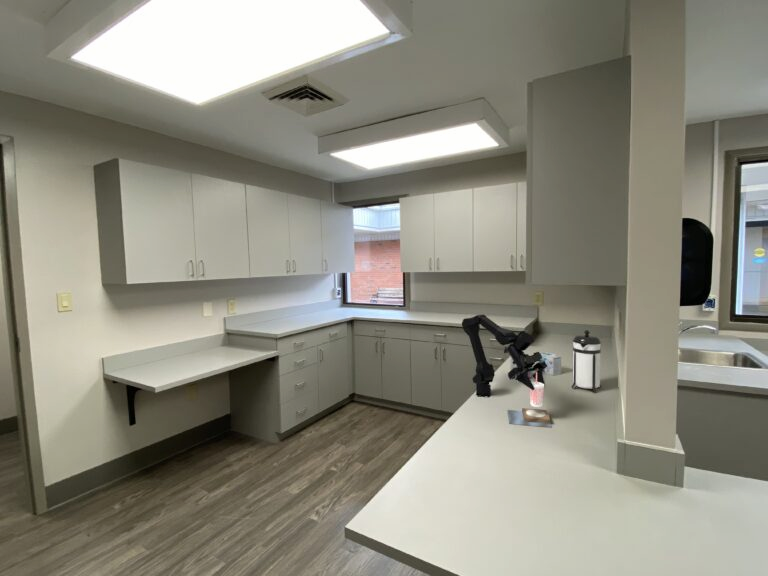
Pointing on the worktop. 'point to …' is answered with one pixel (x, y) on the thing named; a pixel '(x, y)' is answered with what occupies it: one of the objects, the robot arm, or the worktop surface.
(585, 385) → the coffee press
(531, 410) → the blueprint plinth
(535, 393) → the beverage cup
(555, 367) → the light bulb box
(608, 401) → the worktop surface
